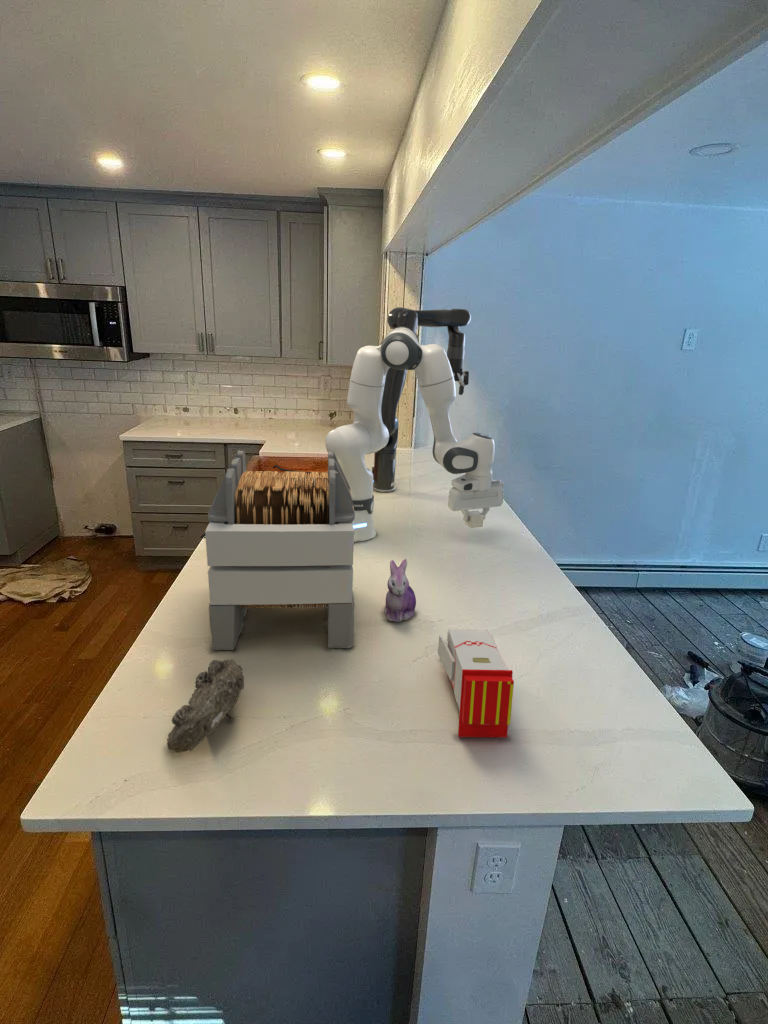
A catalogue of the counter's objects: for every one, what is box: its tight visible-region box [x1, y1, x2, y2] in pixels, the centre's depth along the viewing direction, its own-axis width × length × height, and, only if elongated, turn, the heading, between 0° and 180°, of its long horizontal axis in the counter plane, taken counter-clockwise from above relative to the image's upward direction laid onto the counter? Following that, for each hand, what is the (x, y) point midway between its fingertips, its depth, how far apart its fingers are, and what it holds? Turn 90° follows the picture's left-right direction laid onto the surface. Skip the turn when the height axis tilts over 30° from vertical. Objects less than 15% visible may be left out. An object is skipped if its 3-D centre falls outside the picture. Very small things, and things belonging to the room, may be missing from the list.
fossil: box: [166, 658, 245, 754], centre depth 106 cm, size 22×10×15 cm
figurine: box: [384, 558, 417, 623], centre depth 145 cm, size 9×10×15 cm
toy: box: [437, 628, 515, 738], centre depth 117 cm, size 12×13×30 cm
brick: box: [464, 510, 485, 529], centre depth 194 cm, size 5×5×4 cm
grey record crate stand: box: [204, 449, 355, 652], centre depth 138 cm, size 34×33×41 cm
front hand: (474, 520), depth 194 cm, fingers closed on brick, 5 cm apart
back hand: (452, 394), depth 252 cm, fingers open, 8 cm apart
